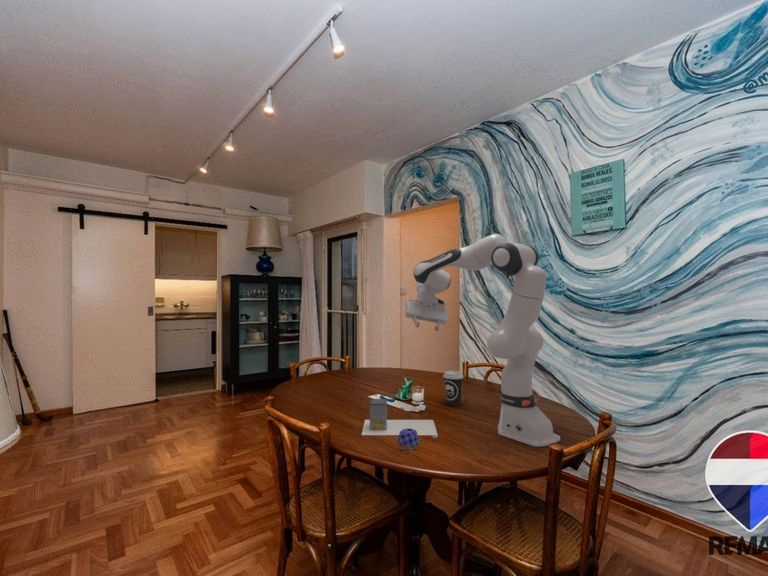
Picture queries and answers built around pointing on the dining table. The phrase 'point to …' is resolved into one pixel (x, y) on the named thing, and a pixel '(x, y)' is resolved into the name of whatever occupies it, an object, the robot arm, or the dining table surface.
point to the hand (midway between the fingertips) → (427, 328)
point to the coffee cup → (453, 387)
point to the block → (378, 424)
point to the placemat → (403, 427)
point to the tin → (378, 412)
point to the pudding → (408, 439)
